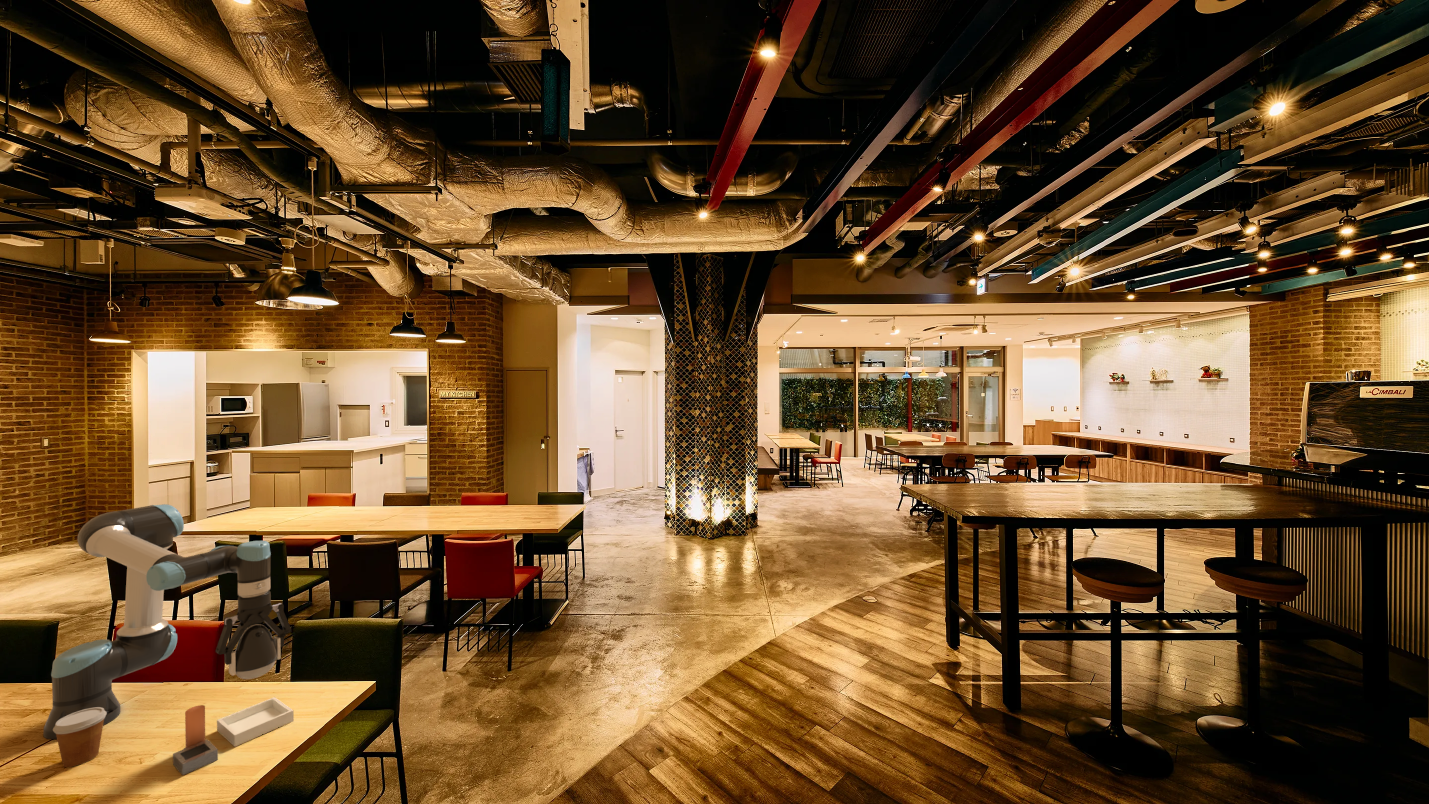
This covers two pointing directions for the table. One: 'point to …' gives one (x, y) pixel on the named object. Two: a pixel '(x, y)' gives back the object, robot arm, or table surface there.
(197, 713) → the pin
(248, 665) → the dark piece
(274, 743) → the table surface
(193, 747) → the pin mount
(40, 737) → the table surface
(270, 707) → the dock cradle
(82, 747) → the disposable coffee cup
